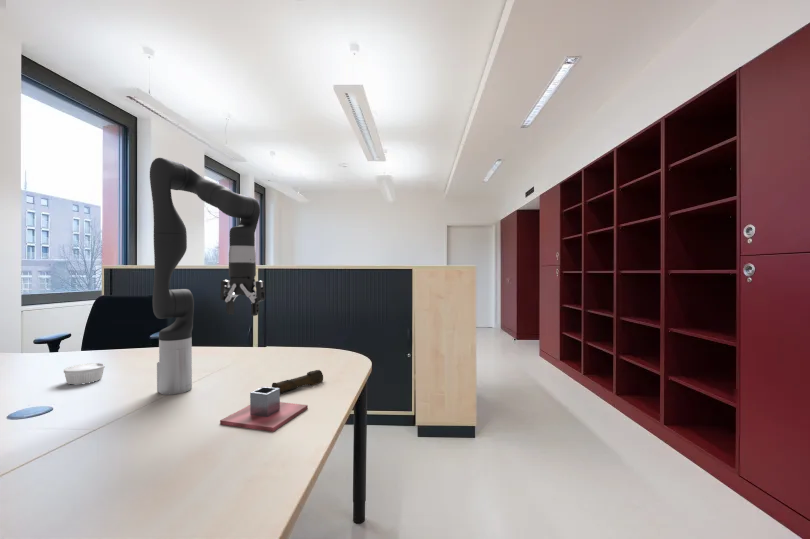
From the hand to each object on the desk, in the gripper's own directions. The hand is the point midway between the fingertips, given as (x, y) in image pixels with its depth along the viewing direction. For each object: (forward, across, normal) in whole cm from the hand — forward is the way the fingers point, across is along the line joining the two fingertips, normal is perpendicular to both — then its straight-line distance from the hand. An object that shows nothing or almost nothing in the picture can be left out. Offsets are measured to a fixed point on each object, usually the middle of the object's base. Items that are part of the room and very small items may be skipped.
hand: (242, 314), depth 116 cm
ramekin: (+26, -68, +1) cm, 73 cm away
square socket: (+25, +14, -8) cm, 30 cm away
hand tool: (+27, +9, +17) cm, 33 cm away
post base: (+26, +14, -8) cm, 31 cm away
